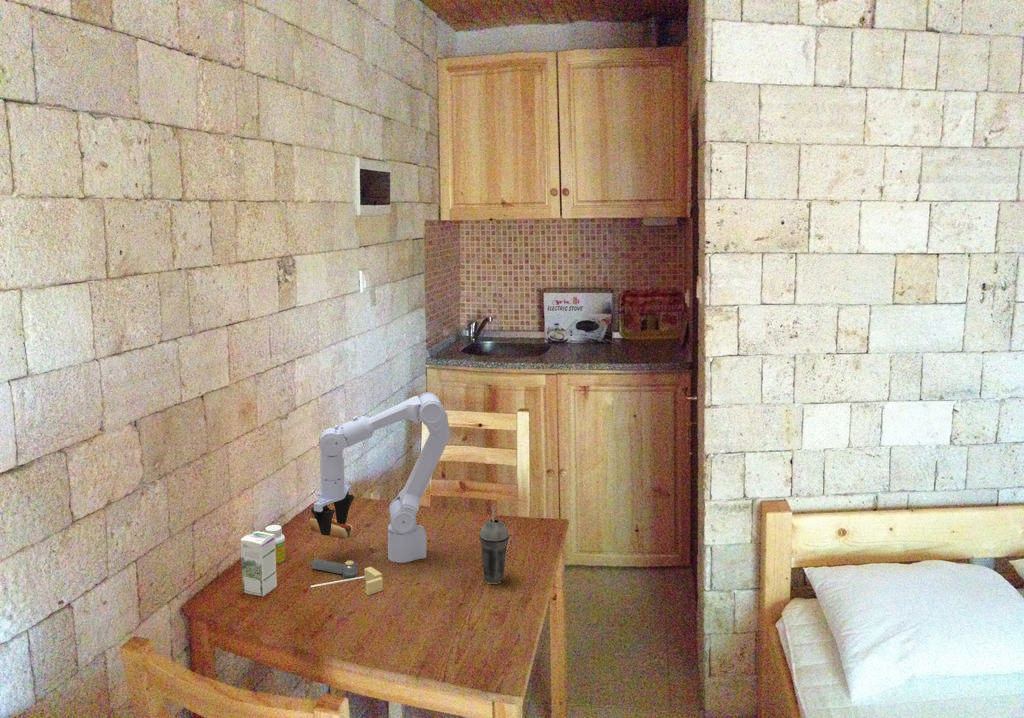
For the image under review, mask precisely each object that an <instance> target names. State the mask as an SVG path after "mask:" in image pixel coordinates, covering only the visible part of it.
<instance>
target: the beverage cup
mask: <svg viewBox="0 0 1024 718" xmlns="http://www.w3.org/2000/svg"><path fill="white" fill-rule="evenodd" d="M491 514H492V515H491V519H489V520H488V521H486V522H485V523H484V524H483V525H482V526H481V528H480V532H479V535H478V537H479V540H480V541H479V542H480V545H481V555H482V556H481V559H482V569H483V570H482V571H483V581H484V580H485V581H486V582H489V583H499V582H501V581H502V580H503V579H504V573H505V564H506V556H507V548H508V543H509V539H510V534H509V528H508V527H507V525H506V524H505V523H504V522H503V521H501V520H499V519H495V504H491ZM485 581H484V582H485ZM502 582H503V581H502Z"/></svg>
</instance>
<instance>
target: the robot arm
mask: <svg viewBox="0 0 1024 718" xmlns="http://www.w3.org/2000/svg"><path fill="white" fill-rule="evenodd" d="M448 417H449V416H448V413H447V412H446V409H445V408H444V404H442V402H441V400H440V397H438V395H437V394H435V393H433V392H431V391H430V392H429V391H427V392H423V393H421V394H420V395H413V396H412V397H409V398H408V399H406V400H404V401H402V402H399V403H398V404H396V405H394V406H392V407H389V408H388V409H386V410H383V411H382V412H379V413H377V414H375V415H373V416H371V417H368V416H364V415H361V416H358V415H355V416H353V417H352V420H350V421H347V422H344V423H342V424H340V425H339V424H336V425H334V428H333V427H329V428H326V429H324V430H323V431H322V433H321V434H320V436H319V438H318V439H319V440H318V441H319V449H320V463H319V467H320V469H319V470H320V490H319V491H318V492H316V493H317V499H316V501H315V502H314V503H313V506H312V507H311V508H310V510H311V514H312V516H313V515H314V516H315V518H316V520H317V522H318V525H319V528H320V532H321V533H320V532H319V533H320V534H321V536H325V537H328V536H329V535H330V532H331V522H332V519H333V518H334V514H335V520H337V523H338V524H347V519H348V516H349V511H350V508H351V505H352V503H353V502H354V500H355V496H354V495H353V494H351V493H352V485H351V484H345V459H344V456H343V451H344V449H345V448H349V447H351V446H354V445H356V444H359V443H361V442H364V441H366V440H369V439H370V438H372V437H373V436H374V433H375V431H377V430H379V429H382V428H385V427H387V426H390V425H392V424H395V423H398V422H400V421H404V420H406V421H407V420H409V421H411V422H415V423H418V421H419V420H418V418H419V419H420V421H421V422H422V424H424V425H425V427H426V429H427V431H428V433H429V435H428V436H427V438H426V441H425V442H424V445H423V447H422V450H421V451H420V454H419V456H418V457H417V459H416V462H415V464H414V466H413V469H412V470H411V472H410V474H409V476H408V478H407V481H406V483H405V485H404V487H403V488H402V489H401V490H400V491H399V493H398V495H397V497H395V498H394V499H393V500H391V502H390V503H389V506H388V514H389V516H390V518H389V519H390V523H388V526H387V554H388V555H387V558H388V560H389V561H390V562H394V563H398V564H399V563H401V564H405V563H409V562H412V561H416V560H417V561H418V560H420V559H421V560H422V559H426V558H427V534H426V530H425V526H423V525H421V524H420V525H419V524H417V515H418V512H419V509H420V504H421V499H422V497H423V495H424V493H425V491H426V489H427V487H428V484H429V483H430V480H431V478H432V476H433V473H434V472H435V469H436V467H437V465H438V464H439V461H440V459H441V458H442V455H443V453H444V451H445V449H446V446H447V444H448V442H449V440H450V437H451V432H450V426H449V424H450V423H449V418H448ZM331 504H333V505H334V509H330V507H329V505H331Z"/></svg>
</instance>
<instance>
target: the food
mask: <svg viewBox="0 0 1024 718" xmlns="http://www.w3.org/2000/svg"><path fill="white" fill-rule="evenodd" d="M309 527H310V529H311V530H312V531H314V532H317V533H318V532H319V533H320V534H321V532H320V528H319V525H318V522H317V520H316V518H315V516H314V515H313V514H312V516H311V518H309ZM353 531H354V528H353V526H352V524H349V523H346V524H338V523H337V520H336V518H335V519H334V518H332V522H331V532H330V535H329V536H330V537H335V538H340V539H345V538H348V537H349V538H351V537H352V535H353V533H354V532H353Z"/></svg>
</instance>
